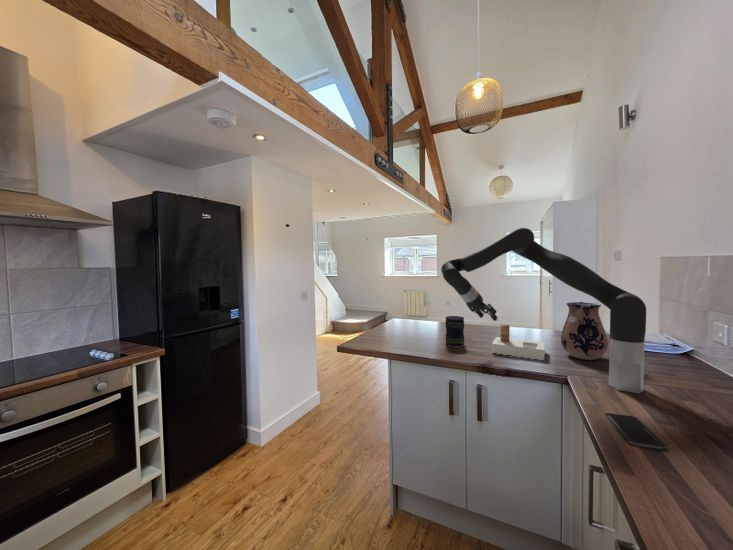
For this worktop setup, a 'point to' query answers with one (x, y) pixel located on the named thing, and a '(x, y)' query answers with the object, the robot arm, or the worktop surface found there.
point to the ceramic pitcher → (584, 332)
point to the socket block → (519, 348)
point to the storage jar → (454, 330)
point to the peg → (504, 333)
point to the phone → (635, 431)
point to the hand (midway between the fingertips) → (488, 317)
